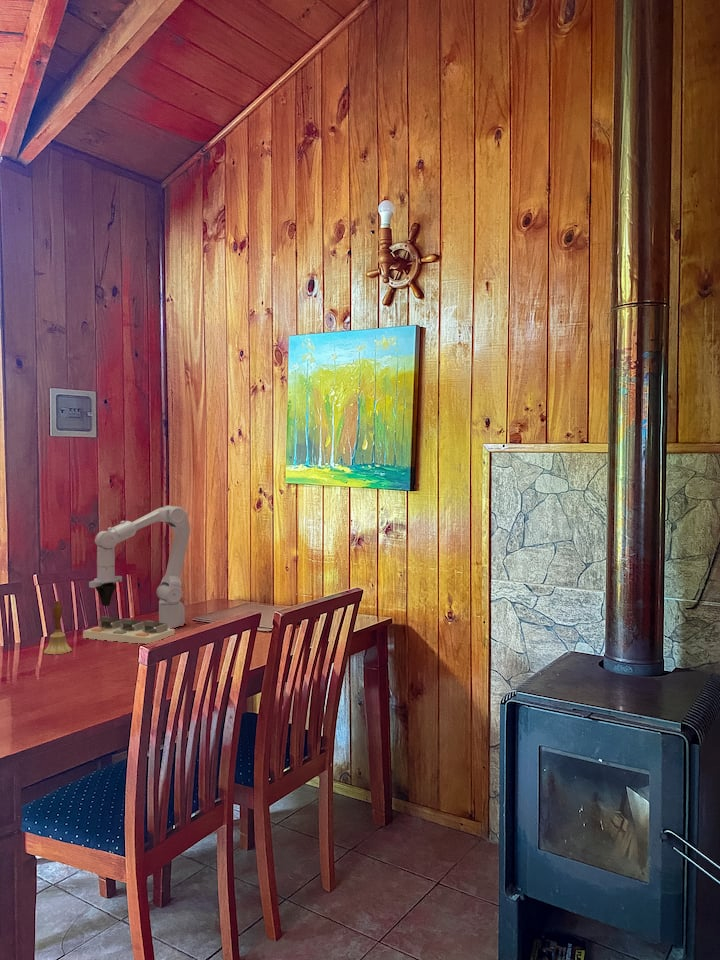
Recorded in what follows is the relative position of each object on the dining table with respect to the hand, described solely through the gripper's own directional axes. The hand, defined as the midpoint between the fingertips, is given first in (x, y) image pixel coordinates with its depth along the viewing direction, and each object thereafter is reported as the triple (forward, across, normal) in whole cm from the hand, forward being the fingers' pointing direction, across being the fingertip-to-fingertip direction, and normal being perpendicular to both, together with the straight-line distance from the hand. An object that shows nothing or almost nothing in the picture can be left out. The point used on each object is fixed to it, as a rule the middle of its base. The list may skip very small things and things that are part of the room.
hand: (105, 605), depth 250 cm
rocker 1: (+6, -3, 0) cm, 6 cm away
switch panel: (+10, -1, +9) cm, 14 cm away
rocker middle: (+6, -3, +9) cm, 11 cm away
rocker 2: (+6, -3, +18) cm, 19 cm away
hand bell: (+11, +23, 0) cm, 25 cm away
